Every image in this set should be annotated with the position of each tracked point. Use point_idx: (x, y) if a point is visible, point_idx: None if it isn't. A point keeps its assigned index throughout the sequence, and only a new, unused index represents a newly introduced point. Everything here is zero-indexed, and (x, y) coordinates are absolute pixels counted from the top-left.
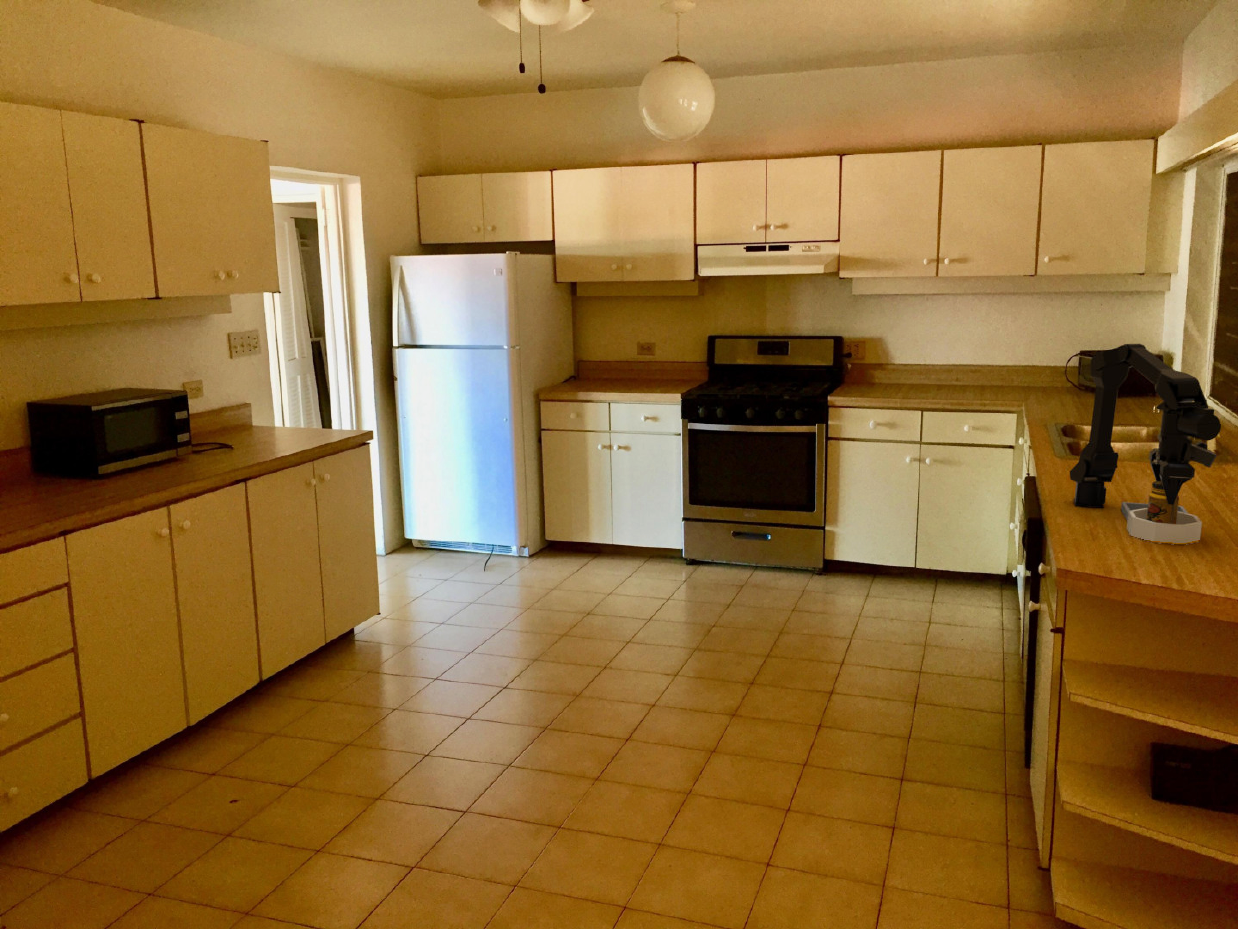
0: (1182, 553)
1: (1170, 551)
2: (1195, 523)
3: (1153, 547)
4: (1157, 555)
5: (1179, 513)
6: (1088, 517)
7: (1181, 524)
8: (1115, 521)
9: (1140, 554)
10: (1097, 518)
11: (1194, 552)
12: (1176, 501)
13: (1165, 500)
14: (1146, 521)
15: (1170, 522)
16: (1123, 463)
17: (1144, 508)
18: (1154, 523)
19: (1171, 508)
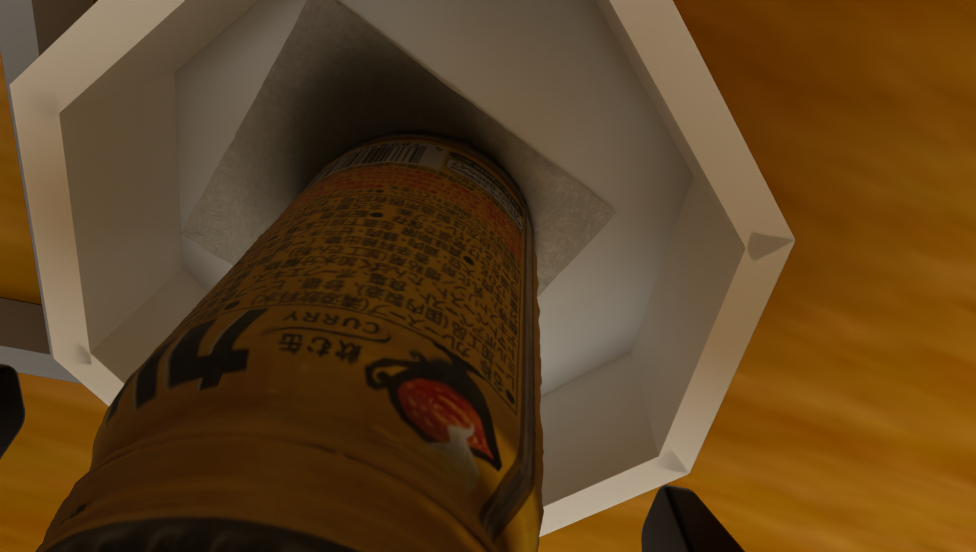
0: (952, 257)
1: (882, 323)
2: (696, 66)
3: (765, 395)
4: (960, 436)
5: (134, 46)
6: (47, 519)
7: (230, 7)
8: (84, 404)
9: (915, 516)
10: (49, 481)
11: (946, 148)
12: (494, 386)
13: (537, 550)
14: (599, 509)
15: (529, 278)
16: None
17: (79, 372)
18: (674, 477)
19: (537, 386)
